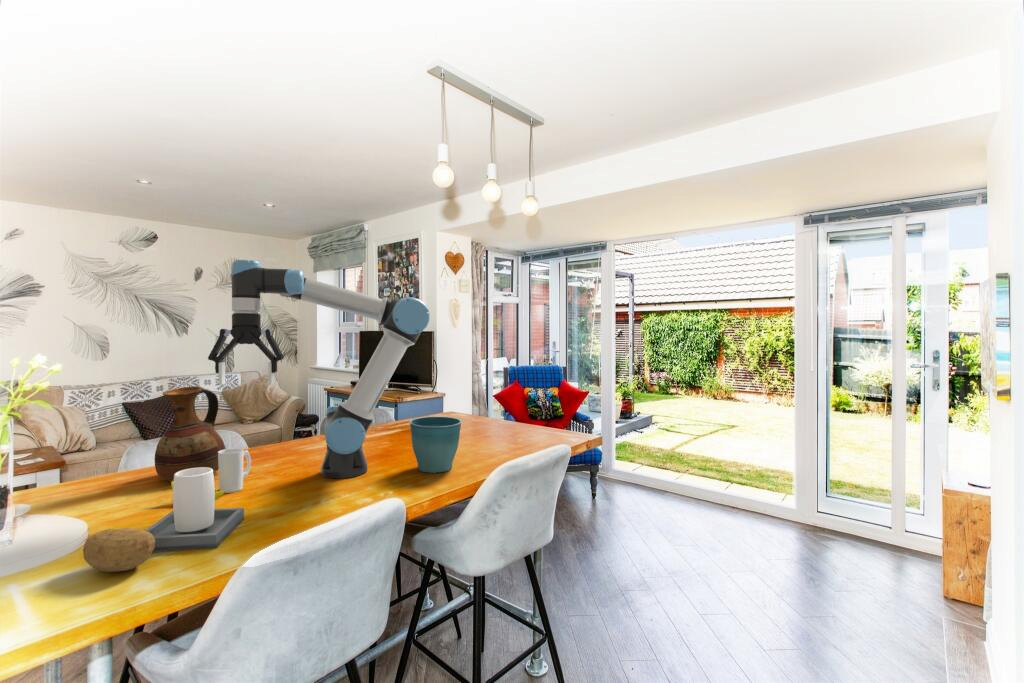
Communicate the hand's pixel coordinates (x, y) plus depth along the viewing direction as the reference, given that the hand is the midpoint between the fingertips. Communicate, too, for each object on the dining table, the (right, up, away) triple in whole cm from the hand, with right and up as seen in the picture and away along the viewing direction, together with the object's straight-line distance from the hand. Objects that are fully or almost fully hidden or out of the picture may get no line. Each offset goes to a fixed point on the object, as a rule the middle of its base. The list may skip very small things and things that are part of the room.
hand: (246, 384), depth 148 cm
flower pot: (+52, -33, +28) cm, 67 cm away
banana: (-9, -33, -9) cm, 36 cm away
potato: (-2, -34, -46) cm, 57 cm away
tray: (+3, -34, -29) cm, 44 cm away
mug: (-6, -33, +5) cm, 34 cm away
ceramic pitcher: (-27, -32, +17) cm, 45 cm away
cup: (+3, -33, -29) cm, 44 cm away
